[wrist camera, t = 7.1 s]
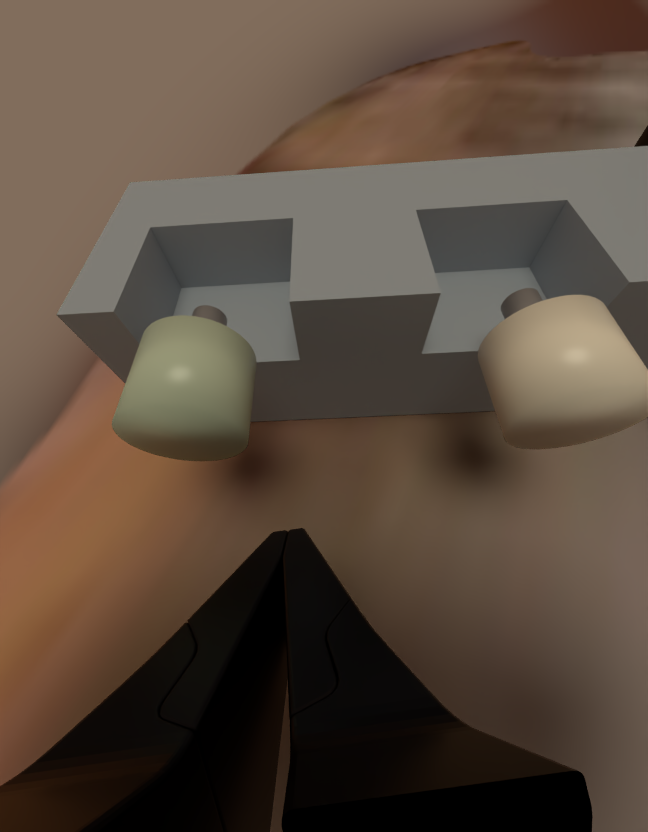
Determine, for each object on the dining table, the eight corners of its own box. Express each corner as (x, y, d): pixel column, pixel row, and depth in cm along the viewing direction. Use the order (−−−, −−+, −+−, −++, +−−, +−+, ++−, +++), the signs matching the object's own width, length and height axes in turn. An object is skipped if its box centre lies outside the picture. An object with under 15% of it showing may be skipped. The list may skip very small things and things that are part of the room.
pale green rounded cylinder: (260, 458, 11) (226, 401, 8) (154, 463, 11) (79, 407, 8) (269, 349, 13) (246, 271, 10) (182, 354, 13) (133, 278, 10)
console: (767, 398, 17) (1064, 257, 10) (167, 425, 18) (56, 315, 11) (670, 284, 21) (828, 132, 14) (196, 311, 22) (130, 182, 15)
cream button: (598, 446, 10) (708, 380, 7) (485, 451, 10) (545, 388, 7) (544, 336, 13) (609, 250, 10) (452, 341, 13) (487, 258, 10)
